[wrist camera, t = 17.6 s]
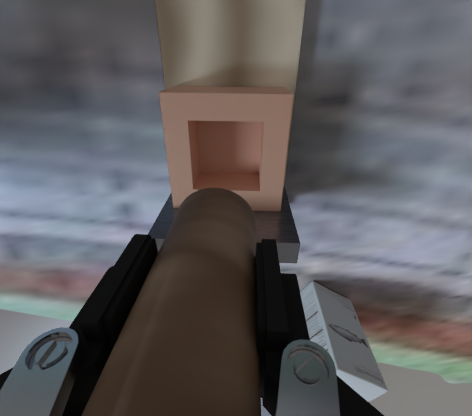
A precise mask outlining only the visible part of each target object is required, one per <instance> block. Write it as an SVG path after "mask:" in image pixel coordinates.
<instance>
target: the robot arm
mask: <svg viewBox="0 0 472 416" xmlns="http://www.w3.org/2000/svg"><path fill="white" fill-rule="evenodd" d="M157 254H158V250H157V244H156V240H155V239H154V238H151V235H143V234H135V235H134V236H133V238H132V239H131V241H130V242H129V244H128V245H127V247H126V248H125V250H124V251H123V253H122V254H121V256H120V258H119V259H118V261H117V262H116V264H115V265H114V266H112V267H110V268H109V269H108V270H107V272H106V273H105V275H104V276H103V278H102V279H101V281H100V282H99V284H98V285H97V287H96V288H95V290H94V291H93V293H92V294H91V296H90V297H89V299H88V300H87V302H86V303H85V305H84V306H83V307H82V309H81V310H80V312H79V313H78V315H77V316H76V318H75V319H74V321H73V322H72V324H71V325H70V327H69V328H56V329H52V330H50V331H48V332H45V333H43V334H42V335H40V336H39V337H37V338H36V339H34V340H33V341H32V342H31V343H30V344H29V345H28V346H27V347H26V348H25V350H24V351H23V352H22V354H21V356H20V357H19V359H18V361H17V363H16V364H15V366H14V367H13V368H11V369H10V370H8V371H6V372H4V373H2V374H1V375H0V416H81V415H82V413H83V411H84V409H85V407H86V405H87V403H88V401H89V398H90V396H91V394H92V392H93V390H94V388H95V386H96V384H97V382H98V379H99V377H100V375H101V373H102V371H103V369H104V367H105V365H106V362H107V360H108V358H109V356H110V354H111V352H112V350H113V348H114V345H115V343H116V341H117V339H118V337H119V335H120V333H121V331H122V328H123V326H124V324H125V322H126V320H127V318H128V316H129V314H130V311H131V309H132V307H133V305H134V303H135V301H136V299H137V297H138V295H139V292H140V290H141V288H142V286H143V284H144V282H145V280H146V278H147V275H148V273H149V271H150V269H151V267H152V265H153V263H154V261H155V258H156V256H157ZM255 266H256V309H257V351H258V355H259V365H260V396H261V398H263V406H264V407H265V408H266V409H267V411H268V412H269V413H270V414H271V415H272V416H384V415H382V414H381V413H380V412H379V411H378V410H377V409H376V408H374V407H373V406H372V405H371V404H370V403H369V402H367V401H366V400H365V399H364V398H363V397H362V396H360V395H359V394H358V393H357V392H356V391H355V390H353V389H352V388H351V387H350V386H349V385H348V384H346V383H345V382H344V381H343V380H342V379H341V378H339V377H338V376H337V375H336V368H335V364H334V361H333V359H332V358H331V356H330V354H329V353H328V352H327V351H326V350H325V349H324V348H323V347H322V346H320V345H319V344H317V343H315V342H313V341H310V338H309V333H308V328H307V323H306V319H305V314H304V309H303V304H302V299H301V295H300V290H299V285H298V280H297V276H296V274H284V273H280V265H279V258H278V251H277V244H276V239H262V241H261V242H256V255H255Z"/></svg>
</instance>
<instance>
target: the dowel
mask: <svg viewBox="0 0 472 416" xmlns="http://www.w3.org/2000/svg"><path fill="white" fill-rule="evenodd" d="M255 255H256V228H255V216H254V213H253V210H252V208H251V207H250V205H249V204H248V203H247V201H246V200H245V199H243V198H242V197H241V196H240V195H238V194H236V193H234V192H232V191H230V190H227V189H223V188H205V189H201V190H198V191H196V192H194V193H192V194H190V195H189V196H188V197H187V198H186V199H185V200H184V201H183V202H182V204H181V205H180V207H179V210H178V212H177V214H176V216H175V218H174V220H173V222H172V224H171V227H170V229H169V231H168V233H167V235H166V237H165V239H164V241H163V244H162V246H161V248H160V250H159V252H158V254H157V256H156V258H155V261H154V263H153V265H152V267H151V269H150V271H149V273H148V275H147V278H146V280H145V282H144V284H143V286H142V288H141V290H140V292H139V295H138V297H137V299H136V301H135V303H134V305H133V307H132V309H131V311H130V314H129V316H128V318H127V320H126V322H125V324H124V326H123V328H122V331H121V333H120V335H119V337H118V339H117V341H116V343H115V345H114V348H113V350H112V352H111V354H110V356H109V358H108V360H107V362H106V365H105V367H104V369H103V371H102V373H101V375H100V377H99V379H98V382H97V384H96V386H95V388H94V390H93V392H92V394H91V396H90V398H89V401H88V403H87V405H86V407H85V409H84V411H83V413H82V415H81V416H261V399H260V365H259V355H258V351H257V309H256V266H255Z"/></svg>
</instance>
